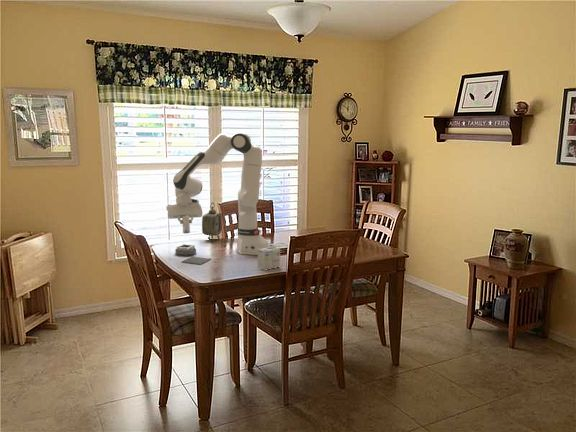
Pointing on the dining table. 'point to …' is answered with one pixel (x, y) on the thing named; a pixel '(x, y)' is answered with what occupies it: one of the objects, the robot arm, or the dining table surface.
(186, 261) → the mat
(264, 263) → the light bulb box
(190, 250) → the chuck block
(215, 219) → the tabletop clock
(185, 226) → the key rod
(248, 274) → the dining table surface
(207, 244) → the dining table surface
